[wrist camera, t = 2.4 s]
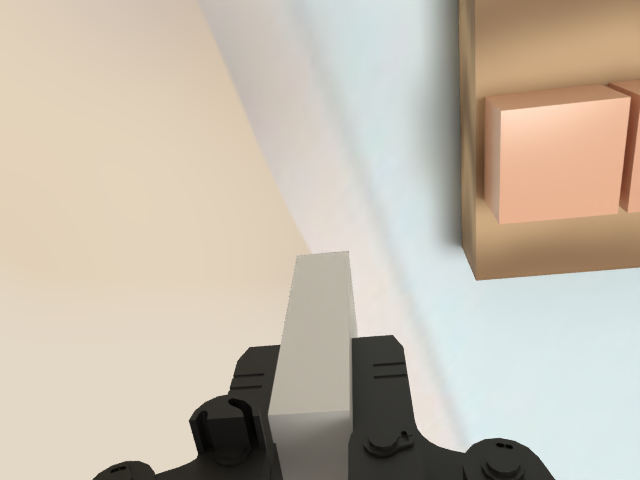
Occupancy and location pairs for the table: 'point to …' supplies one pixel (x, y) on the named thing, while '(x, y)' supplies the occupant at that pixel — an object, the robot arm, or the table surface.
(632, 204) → the tile
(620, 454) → the table surface
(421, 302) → the table surface
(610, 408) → the table surface
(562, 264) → the board
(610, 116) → the tile
